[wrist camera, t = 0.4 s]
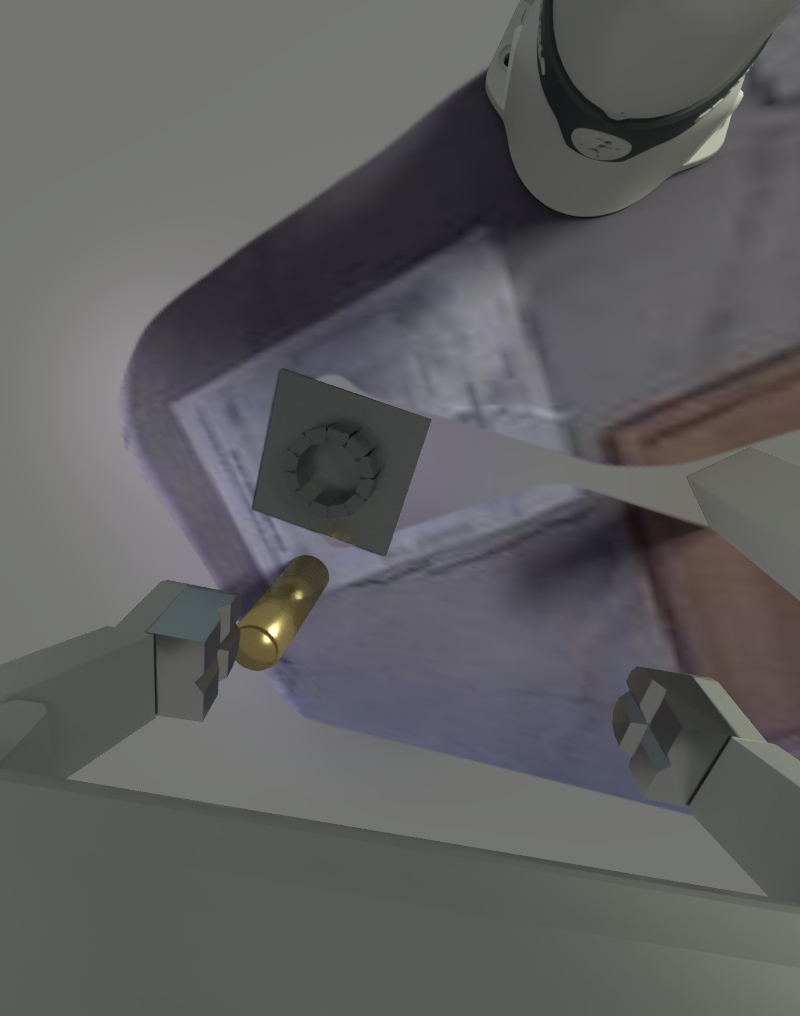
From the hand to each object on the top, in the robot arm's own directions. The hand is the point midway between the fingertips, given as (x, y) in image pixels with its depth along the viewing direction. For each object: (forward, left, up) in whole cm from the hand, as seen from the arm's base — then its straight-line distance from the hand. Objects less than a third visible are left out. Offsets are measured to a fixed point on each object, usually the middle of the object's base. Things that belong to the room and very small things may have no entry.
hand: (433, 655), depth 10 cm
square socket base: (+10, -11, -39) cm, 42 cm away
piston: (+24, -11, -39) cm, 47 cm away
